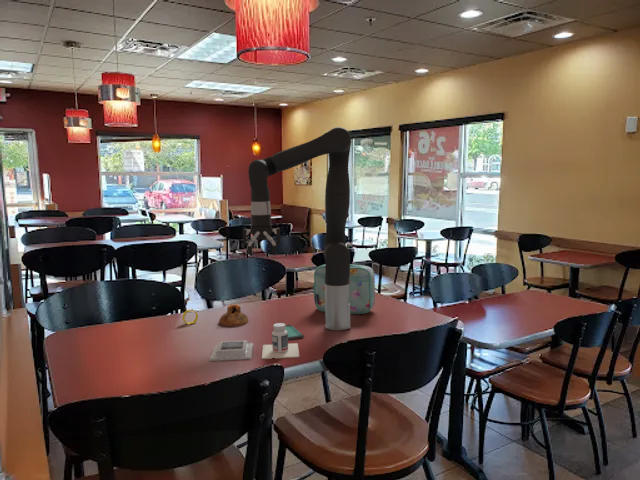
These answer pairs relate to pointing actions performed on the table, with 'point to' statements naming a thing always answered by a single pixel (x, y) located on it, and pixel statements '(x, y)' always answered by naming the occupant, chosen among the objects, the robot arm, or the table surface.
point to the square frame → (232, 350)
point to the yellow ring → (187, 312)
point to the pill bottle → (279, 338)
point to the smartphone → (293, 333)
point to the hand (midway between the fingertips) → (262, 255)
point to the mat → (270, 354)
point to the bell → (233, 317)
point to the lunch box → (358, 288)
